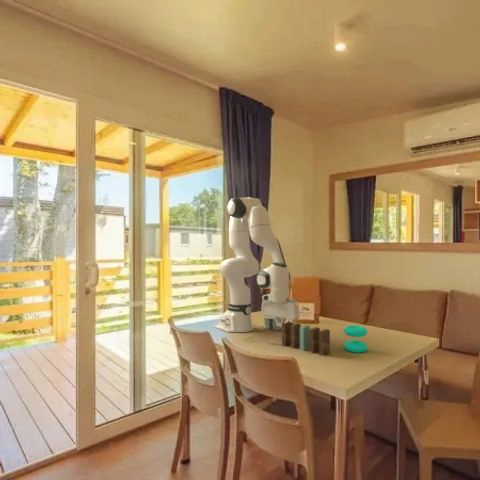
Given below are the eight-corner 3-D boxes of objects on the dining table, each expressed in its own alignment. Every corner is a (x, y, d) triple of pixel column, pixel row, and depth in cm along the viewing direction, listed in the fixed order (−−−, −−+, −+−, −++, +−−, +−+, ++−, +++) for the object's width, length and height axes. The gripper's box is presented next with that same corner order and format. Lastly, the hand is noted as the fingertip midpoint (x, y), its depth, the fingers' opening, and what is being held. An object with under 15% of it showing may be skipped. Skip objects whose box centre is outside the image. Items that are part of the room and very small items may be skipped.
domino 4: (309, 352, 160) (309, 329, 160) (315, 349, 163) (315, 327, 163) (313, 353, 158) (313, 329, 158) (319, 350, 162) (319, 327, 162)
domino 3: (299, 349, 163) (299, 327, 163) (306, 347, 167) (306, 325, 167) (303, 350, 162) (303, 327, 162) (310, 348, 165) (309, 325, 165)
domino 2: (290, 347, 167) (290, 325, 166) (297, 345, 170) (297, 323, 170) (294, 348, 165) (294, 326, 165) (300, 346, 169) (300, 324, 169)
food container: (284, 330, 197) (284, 318, 197) (261, 330, 199) (261, 318, 199) (284, 325, 209) (284, 314, 209) (263, 325, 210) (263, 313, 210)
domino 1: (281, 345, 170) (281, 323, 170) (288, 343, 174) (288, 321, 174) (285, 346, 169) (285, 324, 169) (292, 343, 172) (291, 322, 172)
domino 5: (319, 354, 156) (319, 331, 156) (325, 352, 160) (325, 328, 160) (323, 355, 155) (323, 331, 155) (329, 352, 158) (329, 329, 158)
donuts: (362, 331, 155) (340, 327, 162) (362, 355, 155) (340, 350, 162) (370, 326, 163) (349, 323, 169) (371, 349, 163) (349, 345, 169)
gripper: (302, 298, 169) (302, 329, 169) (267, 294, 183) (268, 322, 183) (294, 300, 164) (294, 331, 164) (259, 295, 179) (259, 324, 179)
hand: (280, 326), depth 174 cm, fingers closed
